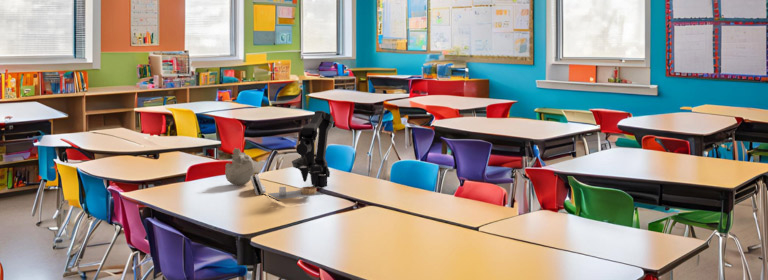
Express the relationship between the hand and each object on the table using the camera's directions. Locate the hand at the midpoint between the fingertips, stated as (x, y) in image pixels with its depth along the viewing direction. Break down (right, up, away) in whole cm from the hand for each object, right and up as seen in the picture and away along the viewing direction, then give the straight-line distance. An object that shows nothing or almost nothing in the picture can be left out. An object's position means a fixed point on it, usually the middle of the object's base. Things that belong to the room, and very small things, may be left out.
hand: (308, 183), depth 356 cm
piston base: (-6, -6, -3) cm, 9 cm away
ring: (0, -5, +1) cm, 5 cm away
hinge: (-26, -5, +7) cm, 28 cm away
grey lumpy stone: (-38, -3, +23) cm, 45 cm away
